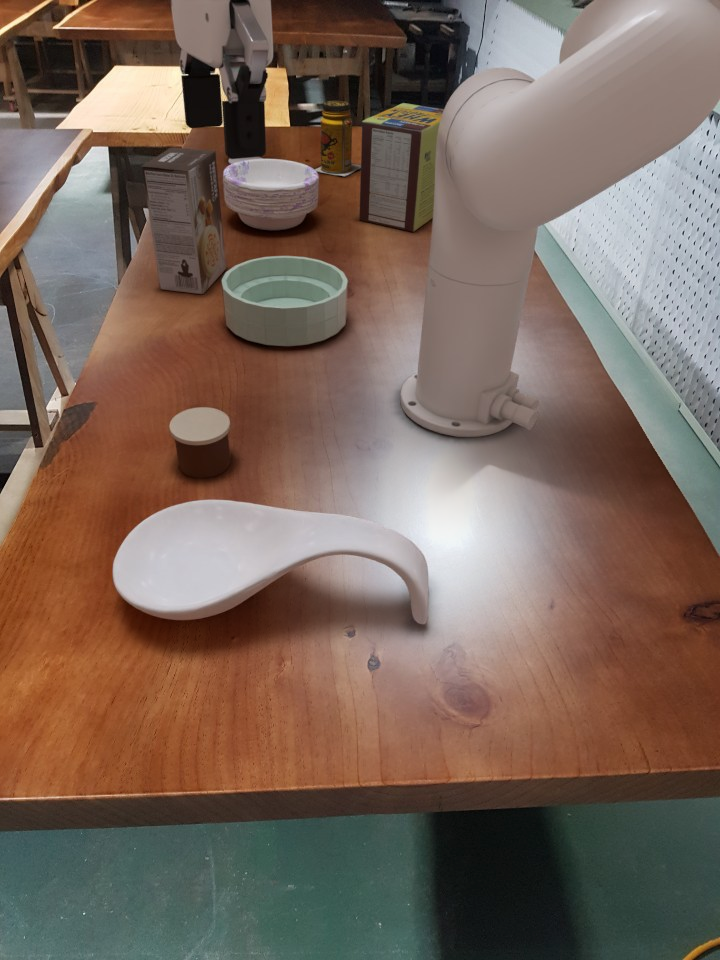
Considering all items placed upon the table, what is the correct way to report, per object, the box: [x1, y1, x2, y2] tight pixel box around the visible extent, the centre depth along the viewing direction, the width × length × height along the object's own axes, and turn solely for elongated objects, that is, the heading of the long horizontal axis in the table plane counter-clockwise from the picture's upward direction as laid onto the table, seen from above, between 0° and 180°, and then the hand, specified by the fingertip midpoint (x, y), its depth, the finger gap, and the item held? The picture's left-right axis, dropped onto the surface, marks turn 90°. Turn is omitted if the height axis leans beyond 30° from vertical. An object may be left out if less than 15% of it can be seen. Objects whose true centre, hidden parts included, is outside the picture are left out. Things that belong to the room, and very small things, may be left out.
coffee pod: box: [168, 406, 231, 479], centre depth 66 cm, size 5×5×4 cm
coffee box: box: [141, 147, 227, 295], centre depth 94 cm, size 9×6×16 cm
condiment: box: [314, 100, 361, 177], centre depth 138 cm, size 7×8×12 cm
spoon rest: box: [112, 499, 429, 625], centre depth 53 cm, size 24×12×7 cm, turn 86°
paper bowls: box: [222, 158, 320, 231], centre depth 115 cm, size 15×15×8 cm
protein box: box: [358, 102, 444, 233], centre depth 118 cm, size 10×15×16 cm
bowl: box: [221, 255, 349, 347], centre depth 89 cm, size 15×15×6 cm
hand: (224, 140), depth 60 cm, fingers open, 9 cm apart
